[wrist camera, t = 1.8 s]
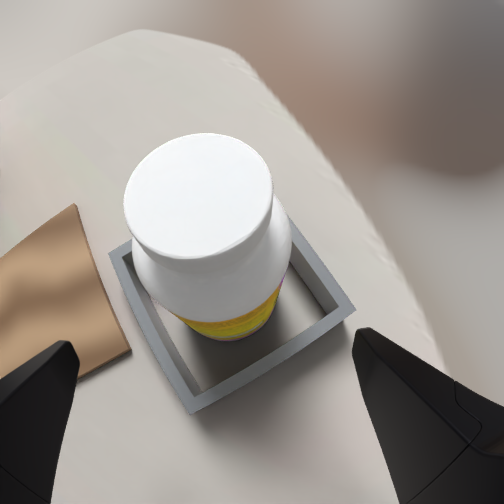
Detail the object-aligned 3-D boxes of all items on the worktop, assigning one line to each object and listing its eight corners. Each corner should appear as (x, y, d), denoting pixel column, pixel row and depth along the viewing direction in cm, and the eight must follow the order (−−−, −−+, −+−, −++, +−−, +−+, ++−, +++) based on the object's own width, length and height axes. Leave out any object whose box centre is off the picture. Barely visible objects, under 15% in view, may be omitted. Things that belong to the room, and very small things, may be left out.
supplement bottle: (285, 331, 19) (337, 272, 8) (188, 349, 19) (94, 318, 7) (264, 242, 22) (275, 102, 10) (175, 258, 21) (102, 137, 10)
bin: (342, 318, 20) (356, 309, 17) (198, 408, 17) (189, 414, 15) (254, 195, 23) (254, 172, 21) (124, 267, 21) (108, 253, 18)
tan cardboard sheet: (131, 349, 19) (128, 348, 18) (16, 411, 16) (12, 411, 16) (77, 206, 23) (74, 203, 23) (-17, 278, 20) (-21, 276, 20)
